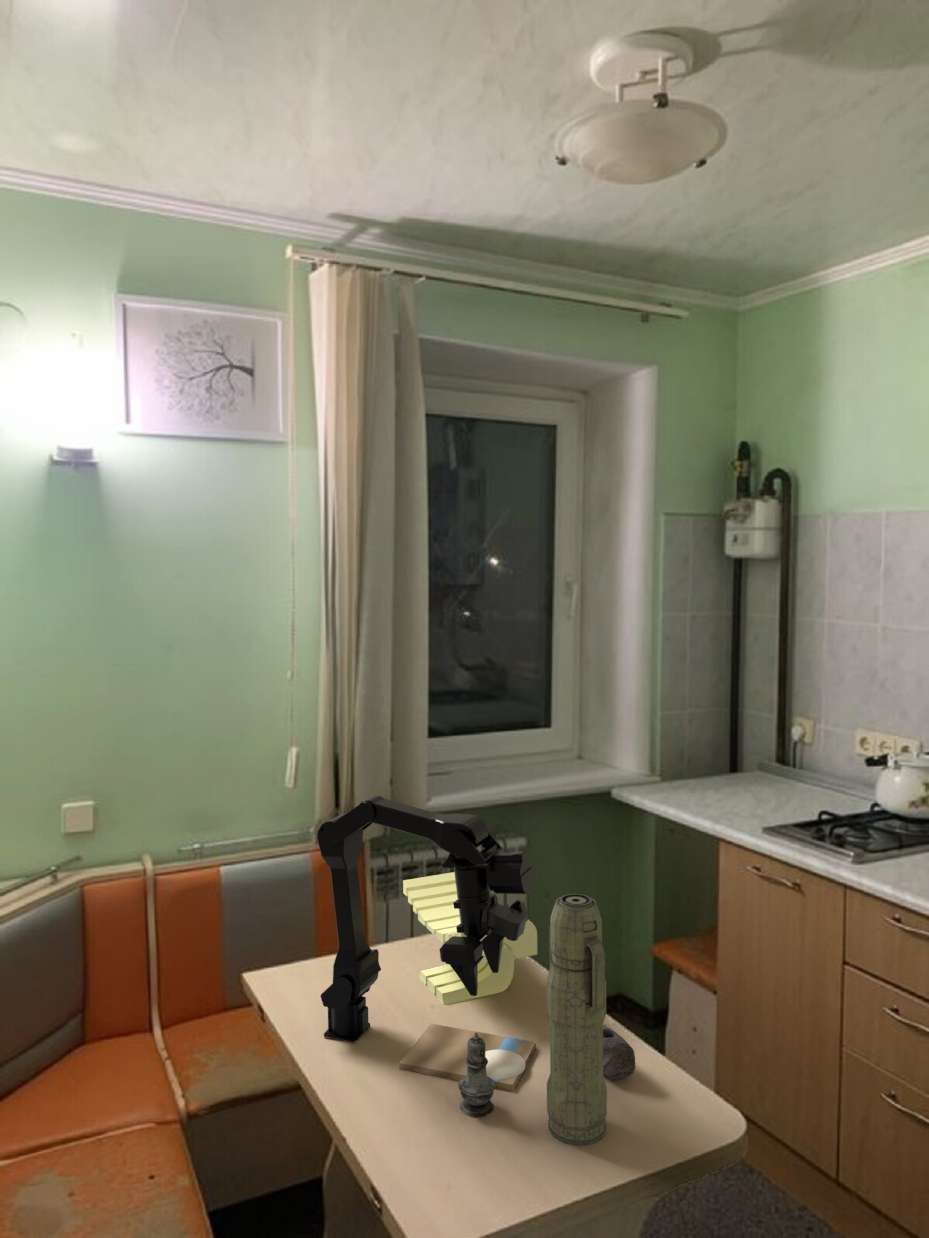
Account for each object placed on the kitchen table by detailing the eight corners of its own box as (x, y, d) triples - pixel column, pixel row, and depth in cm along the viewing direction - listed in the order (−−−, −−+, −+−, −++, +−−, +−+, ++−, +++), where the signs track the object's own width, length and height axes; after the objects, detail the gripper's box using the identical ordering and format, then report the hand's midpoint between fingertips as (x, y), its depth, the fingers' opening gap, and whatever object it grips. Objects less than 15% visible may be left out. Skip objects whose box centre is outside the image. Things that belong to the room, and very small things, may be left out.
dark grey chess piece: (469, 1122, 138) (468, 1045, 137) (451, 1102, 143) (450, 1028, 143) (502, 1111, 141) (502, 1036, 140) (484, 1092, 146) (483, 1019, 145)
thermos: (583, 1159, 129) (582, 918, 127) (529, 1119, 139) (527, 894, 137) (626, 1135, 134) (626, 904, 133) (571, 1098, 144) (570, 882, 142)
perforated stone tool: (564, 1047, 160) (564, 1008, 159) (589, 1040, 162) (589, 1002, 161) (611, 1091, 146) (611, 1049, 146) (638, 1084, 148) (638, 1042, 148)
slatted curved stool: (537, 1006, 174) (537, 915, 173) (462, 1024, 168) (461, 930, 167) (471, 948, 202) (470, 869, 201) (404, 961, 195) (403, 880, 194)
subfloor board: (399, 1068, 153) (399, 1062, 153) (430, 1028, 166) (430, 1022, 166) (515, 1091, 146) (515, 1084, 146) (538, 1047, 159) (538, 1041, 159)
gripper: (496, 912, 142) (508, 1011, 142) (537, 875, 158) (547, 963, 159) (433, 910, 146) (444, 1006, 146) (479, 874, 163) (489, 960, 163)
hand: (484, 983), depth 153 cm, fingers open, 9 cm apart
